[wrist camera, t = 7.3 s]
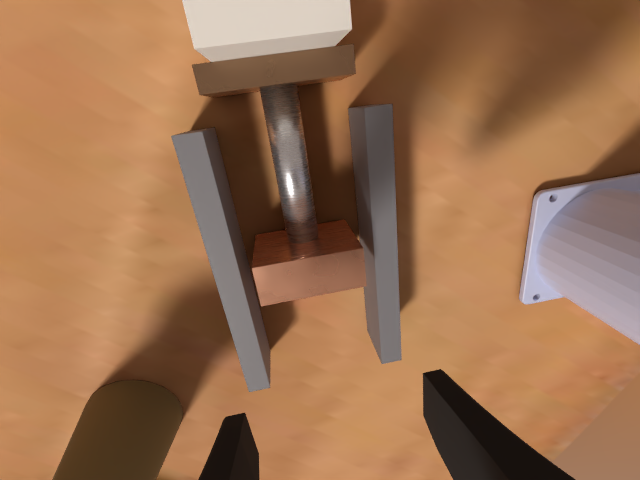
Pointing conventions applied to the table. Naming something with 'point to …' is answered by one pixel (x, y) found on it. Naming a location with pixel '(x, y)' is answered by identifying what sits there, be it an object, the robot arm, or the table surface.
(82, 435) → the cork
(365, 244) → the track
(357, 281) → the ram
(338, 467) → the table surface
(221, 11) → the block
